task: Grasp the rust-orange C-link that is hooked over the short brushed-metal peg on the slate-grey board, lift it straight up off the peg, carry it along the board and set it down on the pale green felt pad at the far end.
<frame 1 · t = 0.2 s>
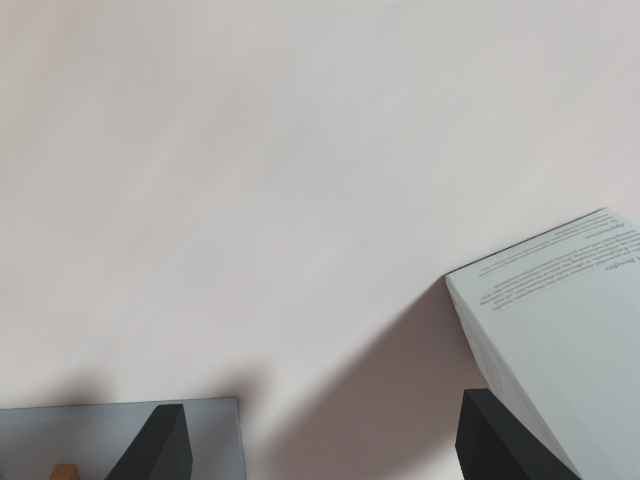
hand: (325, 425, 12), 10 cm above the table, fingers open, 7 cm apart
skincare box: (538, 284, 23), on the table
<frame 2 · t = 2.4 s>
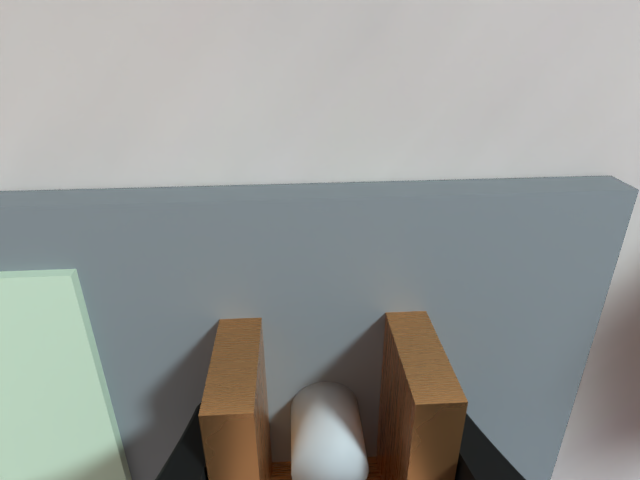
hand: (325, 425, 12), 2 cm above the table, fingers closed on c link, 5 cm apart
peg board: (145, 389, 13), on the table
c link: (324, 407, 13), point 1 cm above the table, touching gripper, peg board
when the fingers open (3 cm above the table, at t = 5.8 s): c link drops 1 cm, resting on peg board.
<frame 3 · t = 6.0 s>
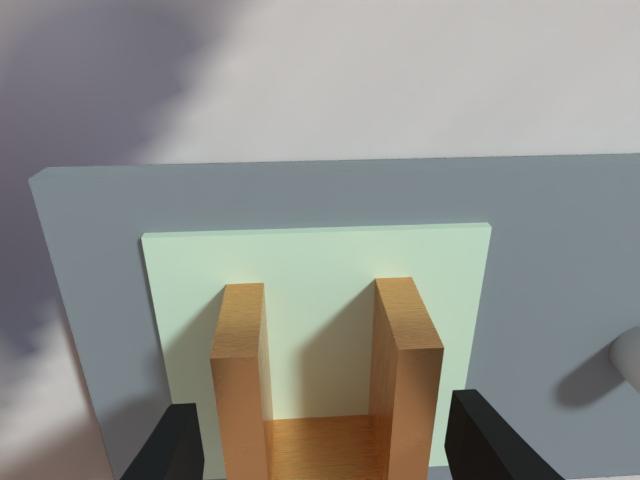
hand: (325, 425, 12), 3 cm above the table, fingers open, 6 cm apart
peg board: (470, 335, 16), on the table
c link: (320, 367, 14), point 1 cm above the table, touching peg board
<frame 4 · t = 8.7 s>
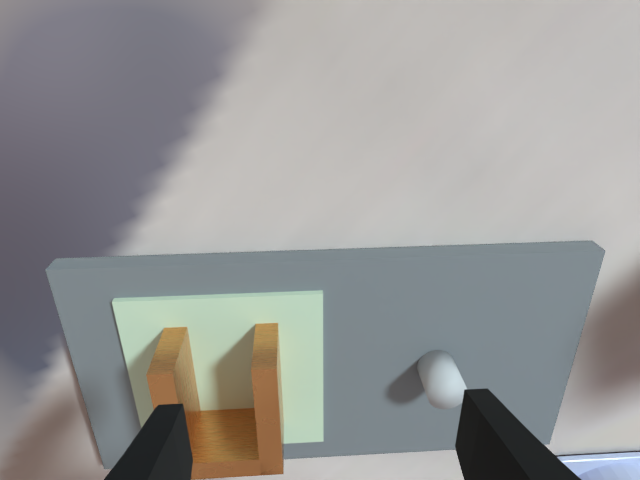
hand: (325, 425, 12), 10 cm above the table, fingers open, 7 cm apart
peg board: (331, 355, 24), on the table
c link: (227, 377, 22), point 1 cm above the table, touching peg board
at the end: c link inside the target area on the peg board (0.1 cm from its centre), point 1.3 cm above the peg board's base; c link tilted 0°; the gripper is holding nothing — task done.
